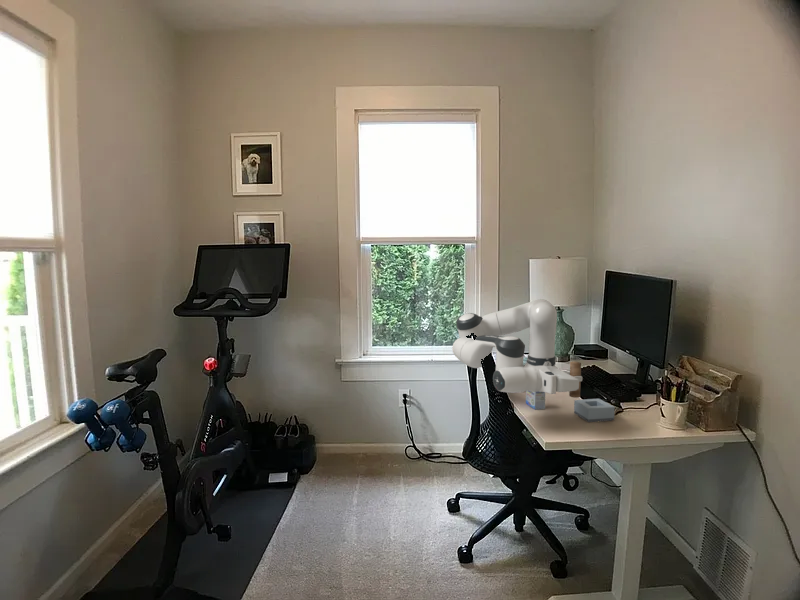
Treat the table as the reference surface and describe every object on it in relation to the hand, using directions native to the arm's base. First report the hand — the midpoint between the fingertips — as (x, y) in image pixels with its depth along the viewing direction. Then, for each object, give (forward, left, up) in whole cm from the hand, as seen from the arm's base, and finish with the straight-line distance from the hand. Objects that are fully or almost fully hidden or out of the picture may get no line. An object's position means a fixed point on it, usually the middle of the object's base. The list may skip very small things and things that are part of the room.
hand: (577, 376), depth 169 cm
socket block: (-5, +9, -17) cm, 20 cm away
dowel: (0, -1, -7) cm, 7 cm away
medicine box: (-20, -7, -17) cm, 27 cm away
